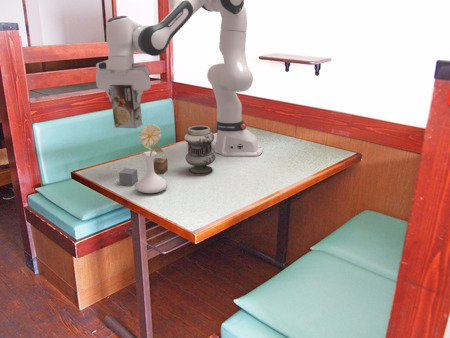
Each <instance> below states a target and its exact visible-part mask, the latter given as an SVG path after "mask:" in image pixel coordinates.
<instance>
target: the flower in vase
mask: <svg viewBox="0 0 450 338" xmlns="http://www.w3.org/2000/svg"><path fill="white" fill-rule="evenodd" d="M140 131H141V132H140V133H139V140H140V143H141V144H142V146H143V147H144V148H146V149H148V151H145V152H142V154H141V155H142V156H143V157H144V159H145V162H146V166H147V171H146V172H147V173H146V174H145V175H143V176H142V177H141V178H140V179H138V182H137V183H136V184H135V188H136V190H137V191H138V192H140V193H146V194H155V193H160V192H162V191H164V190H166V189H167V188H168V185H169V184H168V182H167V180H166V179H165V178H164V177H162V176H160V175H159V174H156V173H155V172H154V159H155V158H156V156H157V154H159V153H164V150H163V149H162V147H161V146H160V145H159V144H158V145H157V143H158V141H160V139H161V137H162V134H161V133H162V131H161V128H160V127H159V126H158V125H156V124H154V123H151V124H150V123H148V124H147V125H145V126H143V128H142V129H141V130H140ZM152 146H153V147H152ZM151 147H152V148H151Z"/></svg>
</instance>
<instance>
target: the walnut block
mask: <svg viewBox="0 0 450 338" xmlns="http://www.w3.org/2000/svg"><path fill="white" fill-rule="evenodd" d="M168 166H169V165H168V158H165V157H164V158H163V157H155V158H154V172H155V173H156V174H157V175H164V174H165V173H166V172H167V171H168Z"/></svg>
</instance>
